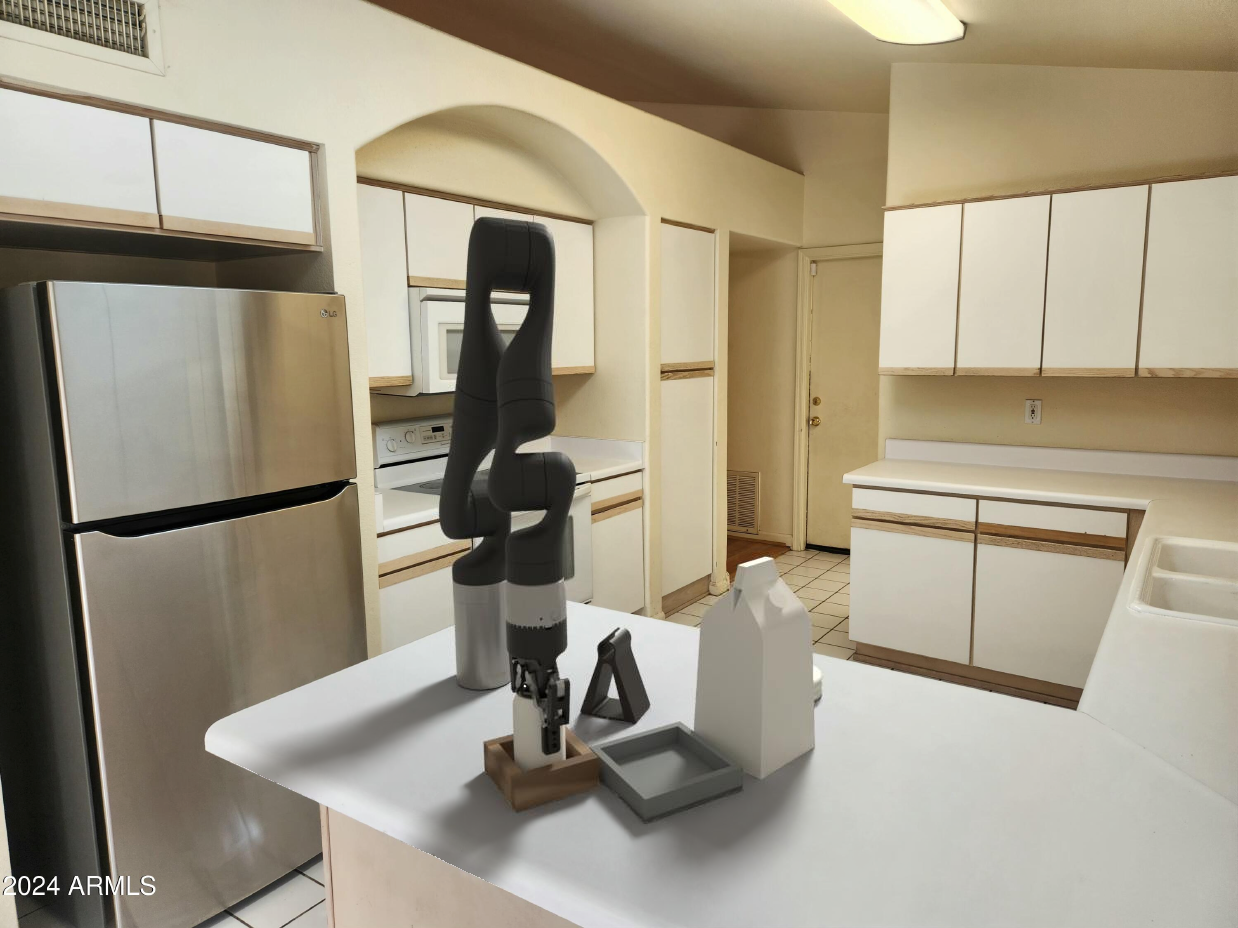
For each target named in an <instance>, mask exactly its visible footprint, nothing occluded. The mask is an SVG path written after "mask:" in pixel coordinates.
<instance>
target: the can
mask: <svg viewBox="0 0 1238 928" xmlns="http://www.w3.org/2000/svg"><path fill="white" fill-rule="evenodd" d="M524 685H525V683H524ZM524 685H523V686H524ZM540 699H541V700H546V699H547V695H545V696H541V697H540ZM532 700H533V699H532V696H531V691H528V690H527V689H526V686H525V687H524V688H521V689H520V688H519V686H518V687H517V688H516V693H515V696H514V697H513V700H512V729H513V730H512V731H513V733H512V734H513V735H514V762H515V764H516V765H517V766H518V767H519V769H520V770H521V771H522V772H524V771H528V770H531V769H535V768H538V767H542V766H545V765H549V764H552V763H556V762H559V761H563V760H566V752H565V726H566V725H562V726H560V747H561V748H560V751H559V752H558V753H554V754H551V755H545V754H544V753H543V752H542V741H541V725H542V724H541V720H540V715H539V710H538V709H536V708H535V707H534V705H533V701H532ZM545 709H546V714H547V706H546V707H545ZM561 711H562V709H561Z"/></svg>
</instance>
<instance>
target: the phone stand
mask: <svg viewBox="0 0 1238 928" xmlns="http://www.w3.org/2000/svg"><path fill="white" fill-rule="evenodd" d="M620 630H621V627H616V628H615V629H614V630H613V631H612V632H610V633H609V634H608V635H607V636H606V637H605V638H603V639H602V640H601V641H600V642H599V643H598V644H597V646H596V651H597V661H596V664H595V667H594V669H593V673H592V676H591V679H590V681H589V684H588V686H587V690H586V694H585V696H584V698H583V701H582V704H581V707H580V711H579V713H580V715H584V716H590V717H595V718H601V719H605V720H606V719H608V720H611V721H616V722H622V723H628V724H633V725H635V724H636V723H637V722H638V720H640V719H641V718H642V717H643V715H644V714H645V712H647V710H648V709H649V708H650V707H651V701H650V699H649V697H648V693H647V690H646V688H645V685H644V682H643V679H642V675H641V673H640V670H639V667H638V665H637V662H636V658H635V655H634V653H633V649H632V634H631V632H630V630H628V628H626V627H624V628H623V629H622V630H621V631H620ZM619 631H620V632H619ZM616 633H617V634H616ZM612 678H613V680H614V683H615V687H616V691H617V697H618V698H613V697H609V696H608V695H609V690H610V688H611V687H610V686H611V682H612Z"/></svg>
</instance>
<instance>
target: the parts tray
mask: <svg viewBox="0 0 1238 928" xmlns="http://www.w3.org/2000/svg"><path fill="white" fill-rule="evenodd" d="M588 748H590V749H591V750H592V751H593V752H594V753H595V754H596V755H597V756H598V757H599V780H601V781H602V782H603V783H604V784H605V785H606V787H608V788H609V789H610V790H611V791H612V792H613V793H614V794H615V796H617V798H619V799H620V800H621V801H622V802H623V803H624V804H625V805H626V806H627V807H628V808H629V809H630V811H632V813H634V814H635V815H636V816H637V817H638V818H639V819H640V820H641V821H642V822H643V823H644V824H648V823H651V822H654V821H657V820H660V819H662V818H666V817H668V816H671V815H675V814H677V813H679V812H683V811H685V810H689V809H691V808H694V807H697V806H698V807H699V806H700V805H703V804H706V803H710V802H711V801H715V800H717V799H720V798H723V797H726V796H729V795H732V794H735V793H737V792H741V791H743V790H744V787H743V786H744V784H743V783H744V774H743V773H744V771H743V767H742V766H741V765H739V764H738V763H737V762H735V761H734V760H732V759H731V758H730V757H728V756H727V755H726V754H724V753H723V752H721V751H720V750H719V749H717V748H716V747H715V746H713V745H712V744H710V743H709V742H708V741H706V740H705V739H704V738H702V737H701V736H699V735H698V734H697V733H695V732H694V729H691V728H690V727H689V726H688V725H686V724H685V723H683V722H682V721H677V722H673V723H669V724H666V725H663V726H659V727H655V728H651V729H648V730H645V731H641V732H637V733H634V734H630V735H627V736H623V737H619V738H617V739H611V740H609V741H606V742H602V743H597V744H596V745H591V746H589V747H588Z"/></svg>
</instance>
